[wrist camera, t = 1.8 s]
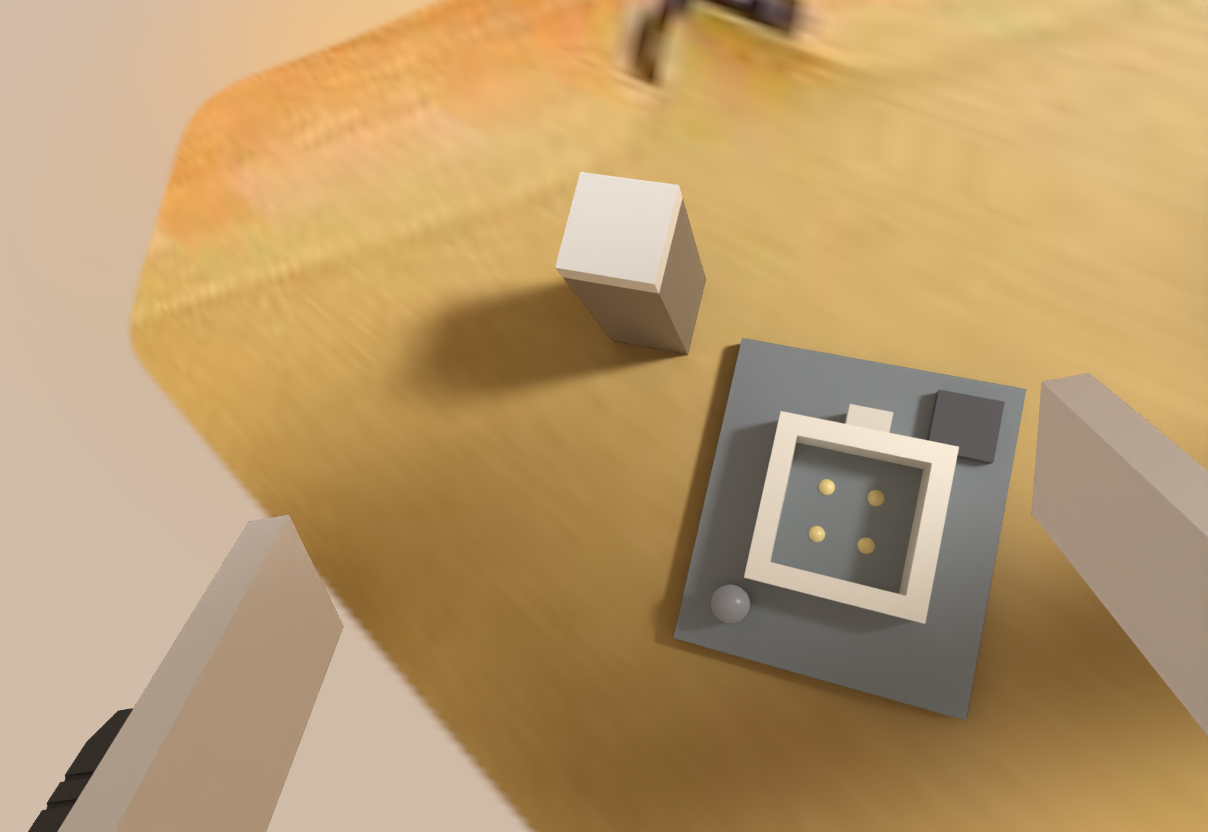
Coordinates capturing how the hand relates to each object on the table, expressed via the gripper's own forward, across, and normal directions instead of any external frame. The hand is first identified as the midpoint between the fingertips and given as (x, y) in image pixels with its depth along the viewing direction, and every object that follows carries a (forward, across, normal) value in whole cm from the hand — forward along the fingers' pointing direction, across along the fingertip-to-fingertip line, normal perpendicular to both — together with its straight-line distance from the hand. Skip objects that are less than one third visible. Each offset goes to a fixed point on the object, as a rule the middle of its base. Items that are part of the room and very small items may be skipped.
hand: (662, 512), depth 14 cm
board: (+21, +8, -18) cm, 29 cm away
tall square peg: (+30, +1, -9) cm, 32 cm away
